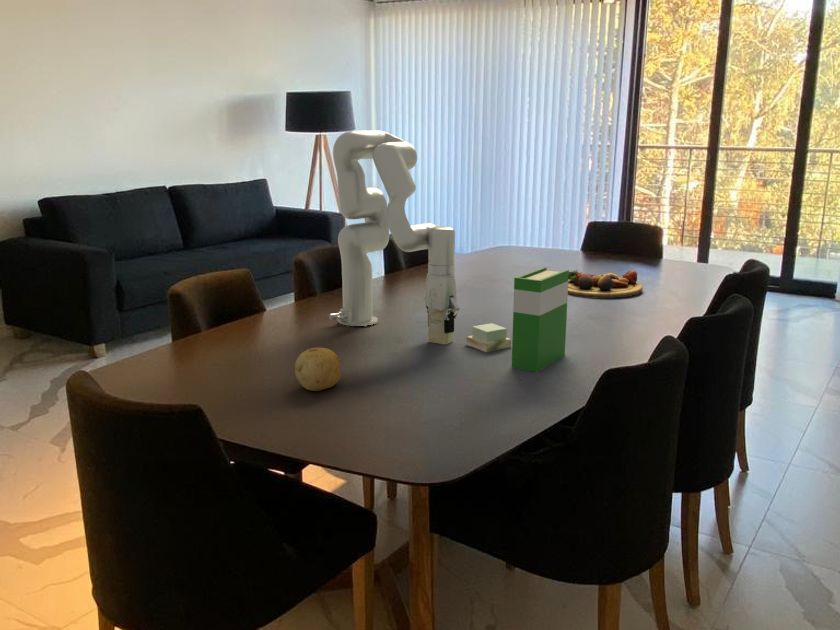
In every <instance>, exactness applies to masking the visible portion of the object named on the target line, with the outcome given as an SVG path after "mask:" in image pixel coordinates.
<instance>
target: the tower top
mask: <svg viewBox="0 0 840 630" xmlns="http://www.w3.org/2000/svg"><path fill="white" fill-rule="evenodd" d="M471 328H472V329H471V330H472V331H471V332H472V333H471V336H472V337H475V338H477V339H480V340H482V341H485V342H491V341H496V340H502V339H506V337H507V335H508V334H507V331H508V328H507V327H503V326H500V325H498V324H495V323H493V322H491V323H484V324H480V325H474V326H472V327H471ZM507 338H508V337H507Z"/></svg>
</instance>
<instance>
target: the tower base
mask: <svg viewBox="0 0 840 630" xmlns="http://www.w3.org/2000/svg"><path fill="white" fill-rule="evenodd" d="M466 346H469V347H471V348H475V349H476V350H478V351H481V352H484V353H489V352H494V351H498V350H504V349H509V348H512V338H509V337H506V339H502V340H496V341H491V342H485V341H482V340H480V339H477V338H475V337H472V335H468V336H466Z"/></svg>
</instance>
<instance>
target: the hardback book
mask: <svg viewBox="0 0 840 630" xmlns="http://www.w3.org/2000/svg"><path fill="white" fill-rule="evenodd" d="M547 268H548V267H547V266H546V267H544V266H543V267H540V268H537V269H535V270H532V271H529V272H527V273H523V274H521V275H518V276H516V277H514V279H513V305H512V307H513V308H512V309H513V313H512V338H511V368H514V369H519V370H524V371H530V372H535V373H538V372H540V371H542V370H543V369H545V368H546V367H548V366H550V365H552V364H554V363H555V362H556V361H558V360H560V359H561V358H563V357H565V356H566V338H567V337H566V335H567V315H568V296H569V294H568V277H569V272H570V269H563V270H560V271H555V270H554V271H553V270H547ZM564 355H565V356H564Z"/></svg>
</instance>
